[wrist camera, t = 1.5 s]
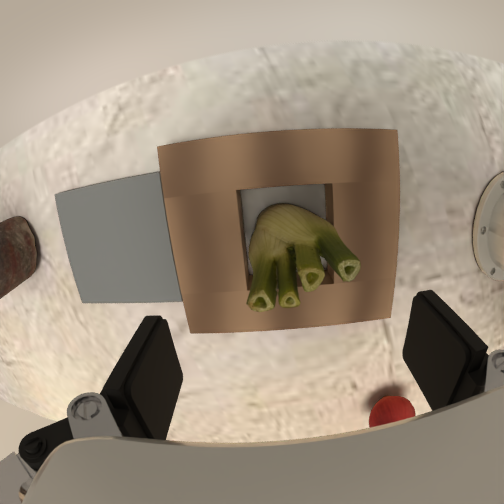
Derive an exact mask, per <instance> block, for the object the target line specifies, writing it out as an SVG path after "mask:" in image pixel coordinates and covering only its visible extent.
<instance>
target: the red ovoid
mask: <svg viewBox="0 0 504 504" xmlns="http://www.w3.org/2000/svg"><path fill="white" fill-rule="evenodd" d="M414 416H415V409H414V407H413V406H412V404H411V403H410V401H409V400H408V399H406V398H404V397H401V396H384V397H383V398H382V399H381V400H379V401H378V402H377V403H376V404H375V406H374V407H373V409H372V410H371V413H370V417H369V427H370V428H371V427H375V426H380V425H384V424H388V423H392V422H396V421H400V420H404V419H407V418H411V417H414Z"/></svg>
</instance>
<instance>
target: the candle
mask: <svg viewBox="0 0 504 504" xmlns="http://www.w3.org/2000/svg"><path fill="white" fill-rule="evenodd" d="M36 257H37V251H36V248H35V239H34V236H33V234H32V233H31V230H30V229H29V226H28V224H27V221H26V220H25V219H24V218H22V217H13V218H10V219H8V220H5V221H3V222H1V223H0V299H1V298H2V297H3V296H5V295H6V294H8V293H9V292H10V291H12V290H13V289H14V288H16V287H17V286H18V285H20V284H21V283H22V282H24V281H25V280H26V279H28V278H29V277H30V276H31V275H32V274H33V273H34V272H35V269H36Z"/></svg>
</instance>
